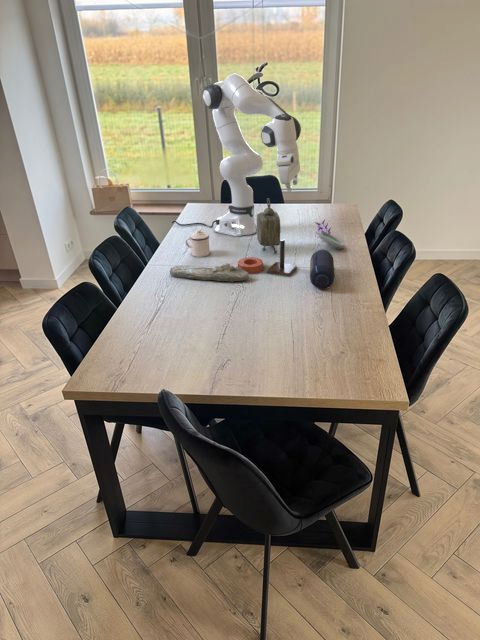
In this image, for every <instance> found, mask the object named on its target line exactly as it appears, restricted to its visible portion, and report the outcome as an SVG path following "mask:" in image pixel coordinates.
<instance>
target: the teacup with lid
mask: <svg viewBox="0 0 480 640" xmlns="http://www.w3.org/2000/svg"><path fill="white" fill-rule="evenodd" d="M209 235H210V234H209V233H207V232H204V231H202V230H201V229H197V230H196V231H195V232H193V233H190V235H189V237H187V238H186V239H185V240H184V243H185V246H186V247H187V248H189V249H191V255H192V256H193V257H196V258H204V257H207V256H209V255H210V253H211V252H210V251H211V250H210V236H209ZM188 241H190V245H189V243H188Z"/></svg>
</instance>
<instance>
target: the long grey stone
mask: <svg viewBox="0 0 480 640" xmlns="http://www.w3.org/2000/svg"><path fill="white" fill-rule="evenodd" d="M169 275H170V276H171V277H178V278H184V279H191V280H192V279H195V280H197V281H199V280H201V281H210V280H211V281H216V282H228V283H229V282H231V283H233V282H240V281H247V280H248V279H249V276H250V274H248V272H246V271H244V270H242V269H241V268H238V266H234V265H231V264H230V263H228V262H227V263H224V264H222V265H219V266H218V265H216V266H212V267H207V266H206V267H205V266H189V265H175V266H173V267H170V269H169Z"/></svg>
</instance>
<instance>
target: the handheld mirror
mask: <svg viewBox="0 0 480 640" xmlns="http://www.w3.org/2000/svg"><path fill="white" fill-rule="evenodd" d="M325 222H326V219H324V220H323V221H322V222H319V223H318V222H317V221H316V222H314V224H316V225H317V227H318V230H317V233H318V237H319V238H320V240H321V241H322V242H324V243H326V244H327V245H329V246H331V247H333V248H334V249H337V250H341V249H344V243H343V242H342V241H341V240H340V239H339V238H338V237H335V236H334V235H332V234H331V228H332V226H330V227H329V228H328V225H329V222H327V223H326V225H325Z"/></svg>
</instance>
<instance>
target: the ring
mask: <svg viewBox="0 0 480 640" xmlns="http://www.w3.org/2000/svg"><path fill="white" fill-rule="evenodd" d="M236 262H237V263H236V264H237V267H238V268H241V269H242V270H244V271H246V272H248V274H249V275H251V274H257V273H260V272H262V271H263V270H264V261H263V259H261V258H259V257H254V256H251V257H249V256H248V257H243V258H240V259H238V260H237V261H236Z"/></svg>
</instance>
